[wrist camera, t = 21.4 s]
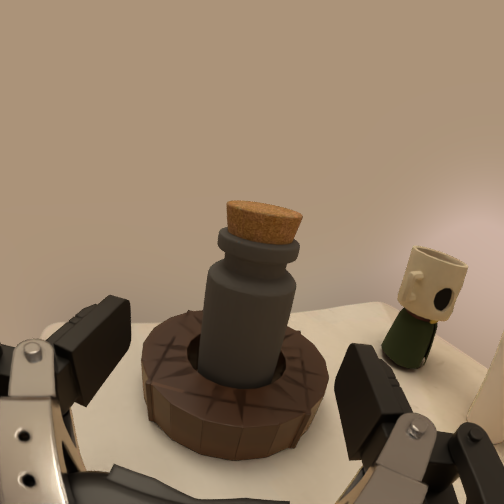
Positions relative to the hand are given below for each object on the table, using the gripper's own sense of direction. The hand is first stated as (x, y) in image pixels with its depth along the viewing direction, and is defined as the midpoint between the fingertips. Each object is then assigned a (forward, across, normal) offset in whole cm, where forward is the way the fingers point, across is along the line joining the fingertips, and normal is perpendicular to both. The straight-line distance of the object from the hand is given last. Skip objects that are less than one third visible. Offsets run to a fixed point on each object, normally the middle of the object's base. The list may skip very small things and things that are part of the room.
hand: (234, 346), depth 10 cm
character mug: (+18, -20, +11) cm, 29 cm away
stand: (+9, 0, +11) cm, 15 cm away
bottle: (+9, 0, +12) cm, 15 cm away
